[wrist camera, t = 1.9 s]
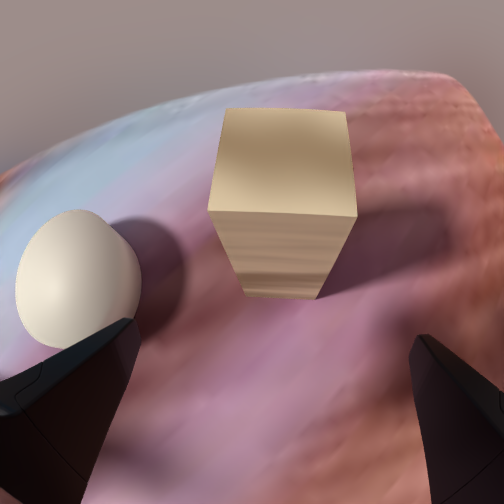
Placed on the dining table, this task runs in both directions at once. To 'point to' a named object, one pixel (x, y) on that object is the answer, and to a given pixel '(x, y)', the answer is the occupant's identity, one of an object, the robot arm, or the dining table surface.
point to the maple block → (283, 197)
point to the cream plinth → (76, 279)
